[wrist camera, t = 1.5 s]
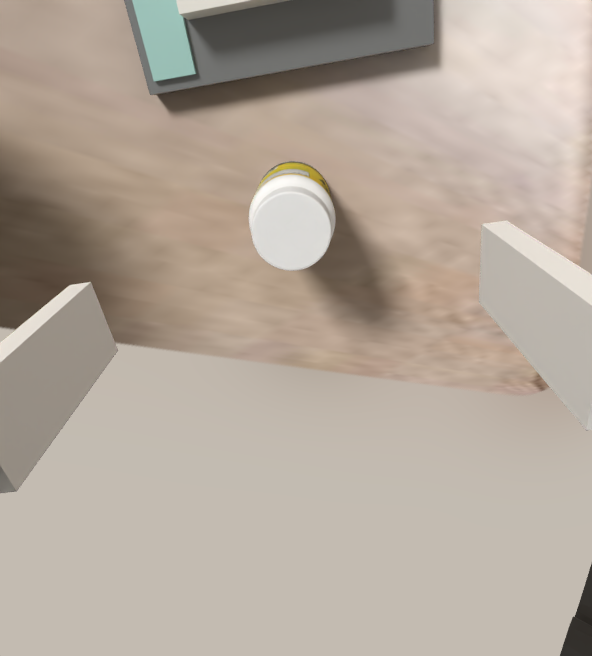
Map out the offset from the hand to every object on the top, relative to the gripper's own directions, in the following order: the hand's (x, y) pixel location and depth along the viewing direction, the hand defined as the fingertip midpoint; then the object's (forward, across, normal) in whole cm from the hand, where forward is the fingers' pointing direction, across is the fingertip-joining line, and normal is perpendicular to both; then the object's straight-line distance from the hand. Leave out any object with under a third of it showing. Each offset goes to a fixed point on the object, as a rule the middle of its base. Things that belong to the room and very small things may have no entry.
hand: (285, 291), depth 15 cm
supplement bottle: (+16, 0, 0) cm, 16 cm away
